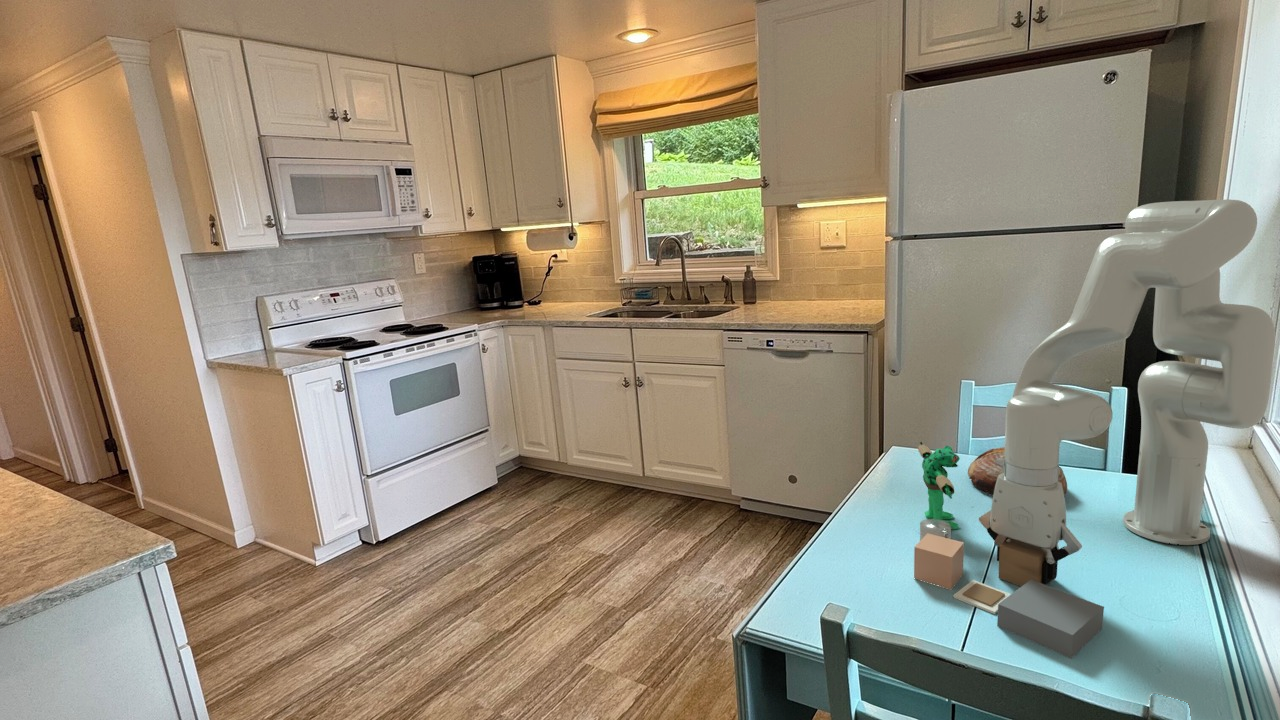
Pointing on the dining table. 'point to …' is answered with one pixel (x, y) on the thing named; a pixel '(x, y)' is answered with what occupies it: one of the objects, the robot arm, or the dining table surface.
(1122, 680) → the dining table surface
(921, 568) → the terracotta cube
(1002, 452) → the bread
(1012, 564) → the walnut cube
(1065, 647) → the base block
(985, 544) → the dining table surface
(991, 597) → the card
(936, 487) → the toy
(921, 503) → the dining table surface
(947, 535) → the grey tin
